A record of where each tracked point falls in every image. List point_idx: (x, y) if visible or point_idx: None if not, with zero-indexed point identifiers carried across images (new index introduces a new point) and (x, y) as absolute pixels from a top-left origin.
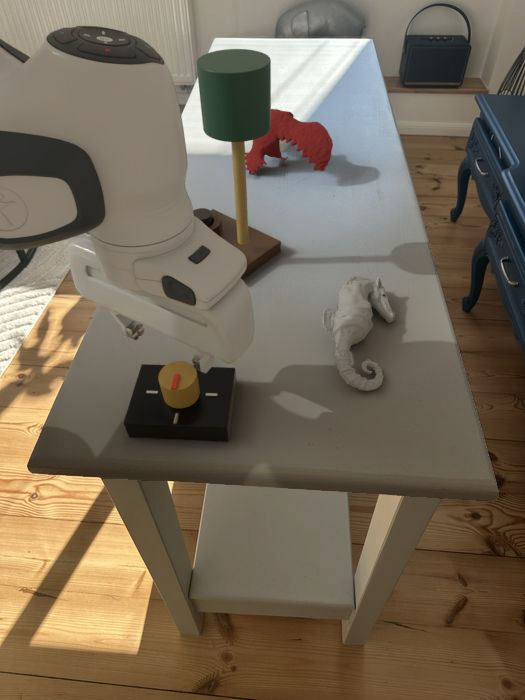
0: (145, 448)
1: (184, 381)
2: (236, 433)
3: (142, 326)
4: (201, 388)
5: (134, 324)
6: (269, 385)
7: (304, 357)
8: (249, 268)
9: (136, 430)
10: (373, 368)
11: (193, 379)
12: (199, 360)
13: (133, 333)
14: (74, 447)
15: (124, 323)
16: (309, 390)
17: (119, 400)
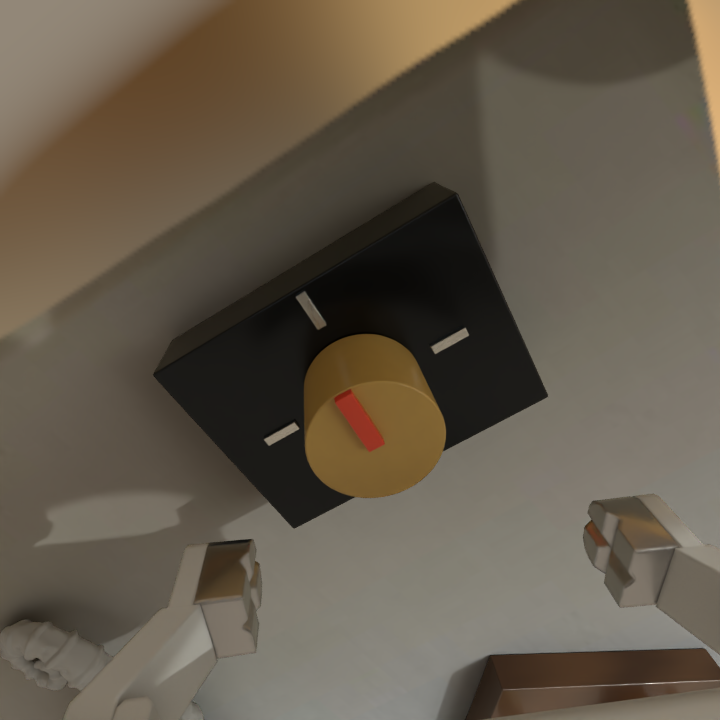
0: (361, 180)
1: (335, 438)
2: None
3: (604, 571)
4: None
5: (644, 579)
6: (218, 518)
7: None
8: (482, 711)
9: (413, 205)
10: (44, 671)
11: (313, 461)
12: (183, 620)
13: (619, 536)
14: (571, 39)
15: (698, 570)
16: (127, 557)
17: (544, 265)
